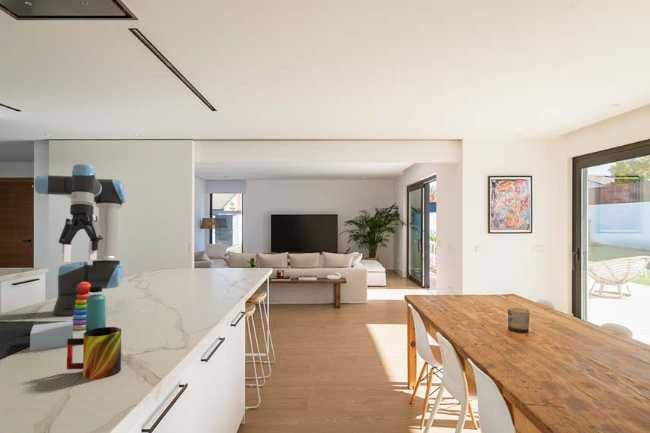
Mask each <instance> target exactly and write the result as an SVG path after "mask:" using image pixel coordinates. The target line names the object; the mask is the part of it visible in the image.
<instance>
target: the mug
mask: <svg viewBox="0 0 650 433" xmlns="http://www.w3.org/2000/svg"><path fill="white" fill-rule="evenodd" d="M73 345H79V346H80V345H83V353H82V354H83V360H82V361H83V362H73V355H74V354H73V353H74V352H73V349H74V347H73ZM66 347H67V349H66V350H67V353H66V354H67V355H66V370H82V372H83V374H82V376H83V378H84V377H85V379H87V378H88V379H89V380H100V378H101V379H105V378H106V379H107V378H111V377H113V376H115V375H117V374H119V373H120V372H121V370H122V328H120V327H117V326H105V327H103V328H96V329H92V330H89V331H86V330H85V332H83V337H78V338H77V337H75V338H74V337H73V338H69V339H67V346H66Z"/></svg>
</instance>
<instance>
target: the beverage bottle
mask: <svg viewBox="0 0 650 433" xmlns="http://www.w3.org/2000/svg"><path fill="white" fill-rule="evenodd" d="M101 292H103V289H102V286H91V287H90V290H89V293H90V294H91V293H94V294H91V295H90V296H88V297H87V298H86V329H85V332H86V331H89V330H92V329H96V328H103V327H106V324H107V320H106V318H107V317H106V296H105V295H104V294H100V293H101ZM97 293H98V294H97Z"/></svg>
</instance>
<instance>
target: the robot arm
mask: <svg viewBox="0 0 650 433" xmlns="http://www.w3.org/2000/svg"><path fill="white" fill-rule="evenodd" d="M96 174H97V173H96V168H95V166H93V165H91V164H86V163H77V164H74V165H73V166H72V171H71V175H52V174H51V175H50V174H49V175H48V174H43V175H41V174H39V175H37V176H36V177H35V179H34V185H33V186H34V190H35V192H36V194H39V195H54V196H57V195H58V196H63V197H67V198H69V199H70V204H71V205H70V209H69V213H70V215H71V216H72V218H69V217H68V218H66V219H65V224H64V227H63V229H62V231H61V234H60V237H59V238H58V243H59V244H62V252H61V253H62V262H63V263H67V264H62V265H59V268H58V270H57V272H58V274H57V298H56V301H55V303H54V307H53V309H52V315H54V316H59V317H63V316H64V317H65V316H66V317H68V316H69V317H70V316H73V315H74V310H75V309H76V308H75V305H76V300H77V295H78V294H80V293H79V292H78V291H77V286H78V284H80V283H81V282H88V283H90V284H91V286H102V290H103V289H104V290H106V289H107V290H109V289H115V288H118V287H119V286H120V285H121V282H122V279H123V273H124V265H123V264H122V263H120V259H119V258H118V256H117V253H118V252H117V250H118V231H119V230H118V228H119V226H118V225H119V224H118V223H119V210H120V209H121V208H122V207H123V204H125V203H126V198H127V195H126V189H125V185H124V183H123V181H122V180H120V179H112V178H110V179H108V178H97V177H96ZM93 205H95V207H97V209H98V216H97V215H94V208H95V207H94V206H93ZM81 230H84V232H85V233H86V235H87V237H89V238H88V239H89V242H88V256H87V259H88V260H89V261H92V264H89V263H88V261H80V262H79V261H78V262H77V261H76V262H71V258H72V247H73V246H72V241H73V240H74V238H75V236H76V234H77V233H78V232H79V231H81ZM70 262H71V263H70Z"/></svg>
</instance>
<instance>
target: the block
mask: <svg viewBox="0 0 650 433" xmlns="http://www.w3.org/2000/svg"><path fill="white" fill-rule="evenodd" d="M73 333H74V329H73V321H72V320H67V321H59V322H50V323H42V324H33V326H32V328H31V331H30V336H29V339H30V340H29V352H36V351H43V350H50V349H57V348H65V347H67V339H69V338H74V337H73V336H74V334H73Z"/></svg>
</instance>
